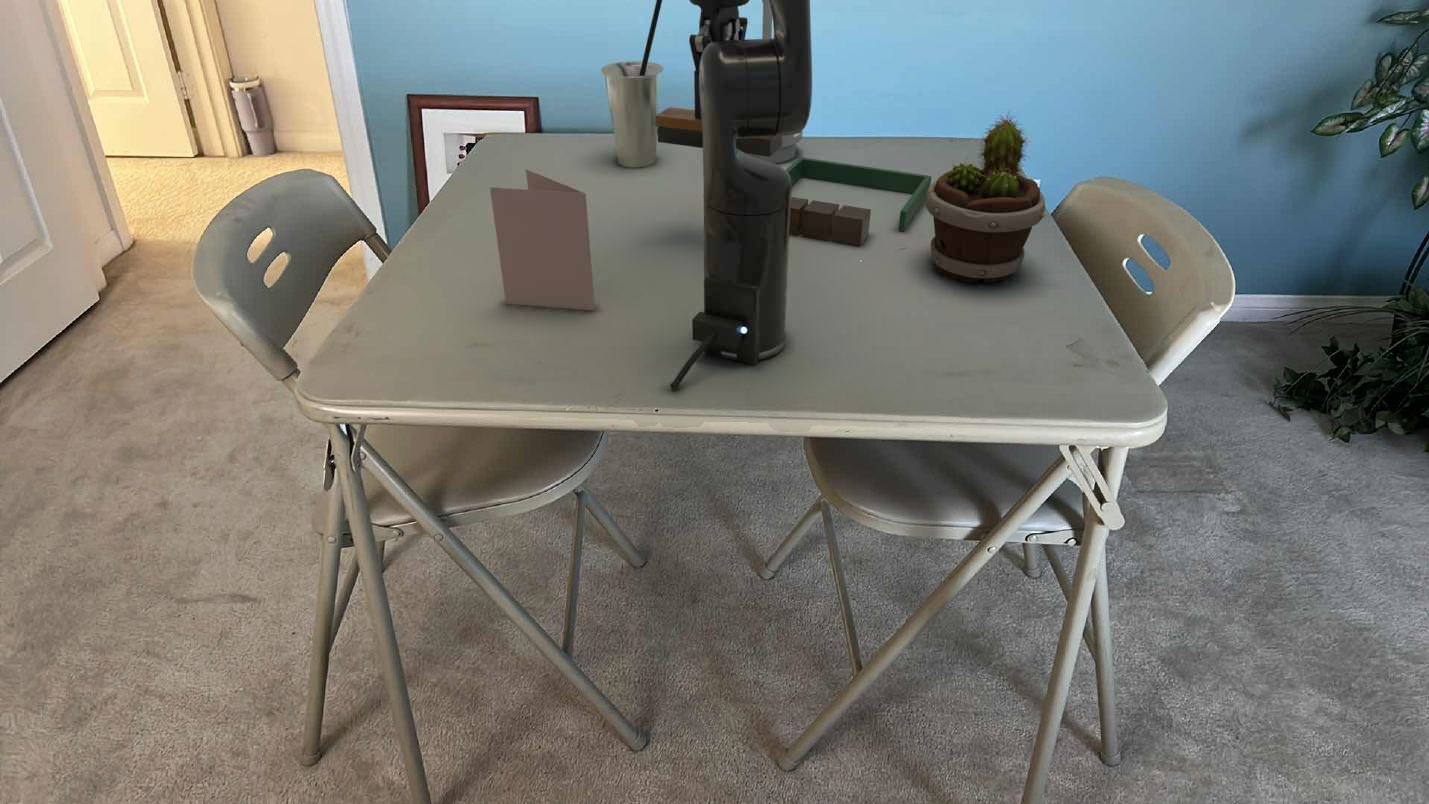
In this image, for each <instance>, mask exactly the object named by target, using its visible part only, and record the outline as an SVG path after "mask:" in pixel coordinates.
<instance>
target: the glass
mask: <svg viewBox="0 0 1429 804" xmlns="http://www.w3.org/2000/svg"><path fill="white" fill-rule="evenodd" d="M662 3H663V0H656V1H655V5H654V10H653V14H652V17H651V21H650V22H651V23H650V26H649V31H648V36H647V40H646V44H645V49H644V52H643V57H642V61H641V60H629V61H628V60H627V61H626V60H625V61H619V62H613V63H609V64H606V65H604V66H602V67H601V69H600V72H601V74H603V76H604V82H605V88H606V94H607V100H608V107H609V113H610V120H611V125H612V129H613V135H614V142H615V143H614V144H615V150H616V156H617V164H619V165H620V166H622V167H625V168H632V169H633V168H637V169H638V168H647V167H650V166H653V165H654V164H655V163H656V162H657V158H656V156H657V142H658V132H657V127H656V115H657V114H659V113H660V112H659V109H660V95H661V78H662V77H661V75H662V73H663V72H664V70H665V69H664V66H662V65H661V64H659V63H655V62H651V61H649V60H650V54H651V51H652V46H653V42H654V39H655V33H656V29H657V24H658V20H659V16H660V11H661V8H662Z"/></svg>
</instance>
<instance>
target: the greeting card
mask: <svg viewBox="0 0 1429 804" xmlns="http://www.w3.org/2000/svg"><path fill="white" fill-rule="evenodd" d="M525 173H526V183H527V189H522V188H509V187H492V186H490V187H489V191H490V199H491V206H492V212H493V213H492V214H493V220H494V228H495V234H496V240H497V249H498V250H497V251H498V256H499V264H500V271H501V277H502V284H503V285H502V286H503V293H504V300H505V304H507V305H521V306H530V307H531V306H533V307H544V308H546V307H547V308H557V309H569V310H580V311H591V312H593V311H596V307H595V306H596V305H595V293H594V281H593V279H594V278H593V267H592V255H591V254H592V253H591V243H590V231H589V217H588V205H587V193H586V192H583V191H581V190H579V189H576V188H573V187H571V186H569V185H567V184H564V183H562V182H559V181H557V180H554V179H553V178H550V177H547V176H545V175H542V174H539V173H537V172H535V171H532V170H530V169H527V168H525Z"/></svg>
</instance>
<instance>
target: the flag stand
mask: <svg viewBox="0 0 1429 804" xmlns="http://www.w3.org/2000/svg"><path fill="white" fill-rule="evenodd" d="M761 2H762V30H761V31H762V32H761V33H762V34H761V35H762V37H761V39H770V38H772V37H773V36H772V34H773V17H772V12H771V7H770V3H769V0H761ZM803 130H804V129H803ZM803 130H802V131H801V132H799V133H798V134H793V135H786V136H782V146H781V147H780V148H779V149H778V150H777V151H776V152H774V153H773V154H772V155H771V156H770V157H768V156H760V155H753V154H748V155H750V156H753V157H756V158H759V159H762V160H766V161H769V162H772V163H774V164H779V163H783V162H787V161H791V160H792V159H793V158H795V156H796V150H797V144H798V143H799V142H801V141H802V140H803V132H804V131H803Z"/></svg>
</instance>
